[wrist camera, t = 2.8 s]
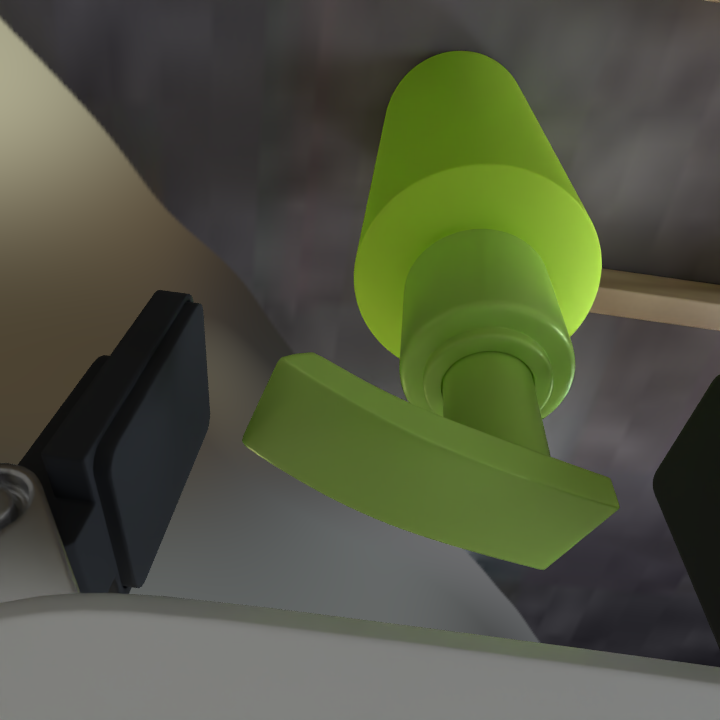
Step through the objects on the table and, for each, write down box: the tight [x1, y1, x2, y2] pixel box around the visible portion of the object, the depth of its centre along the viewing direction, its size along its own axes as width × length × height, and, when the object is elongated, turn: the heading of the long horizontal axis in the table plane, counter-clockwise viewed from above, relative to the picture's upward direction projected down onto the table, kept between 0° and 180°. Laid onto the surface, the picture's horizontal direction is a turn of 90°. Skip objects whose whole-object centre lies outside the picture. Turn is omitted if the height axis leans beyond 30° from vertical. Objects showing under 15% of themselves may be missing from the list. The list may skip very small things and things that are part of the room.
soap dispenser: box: [242, 51, 619, 570], centre depth 16 cm, size 6×7×20 cm
